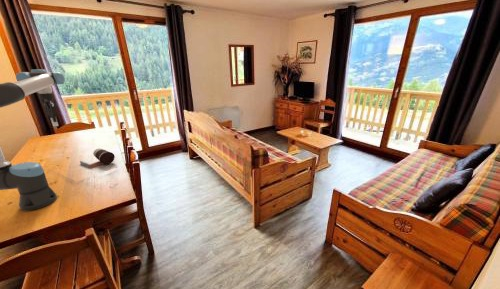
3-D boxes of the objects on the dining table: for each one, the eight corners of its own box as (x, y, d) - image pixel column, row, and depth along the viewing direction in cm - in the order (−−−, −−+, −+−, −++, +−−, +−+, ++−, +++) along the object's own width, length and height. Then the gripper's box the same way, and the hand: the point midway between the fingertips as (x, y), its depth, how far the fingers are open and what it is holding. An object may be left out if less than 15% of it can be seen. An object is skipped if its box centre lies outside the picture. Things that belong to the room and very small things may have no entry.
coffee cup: (90, 159, 159) (100, 166, 153) (91, 146, 157) (102, 153, 151) (104, 157, 168) (114, 164, 161) (106, 146, 166) (116, 152, 160)
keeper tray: (90, 167, 153) (89, 164, 152) (80, 164, 159) (79, 161, 159) (112, 160, 165) (111, 157, 165) (102, 157, 172) (101, 154, 171)
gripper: (56, 92, 144) (66, 126, 152) (48, 92, 150) (58, 124, 158) (42, 93, 138) (53, 128, 146) (34, 93, 144) (45, 126, 152)
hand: (55, 126), depth 152 cm, fingers closed
